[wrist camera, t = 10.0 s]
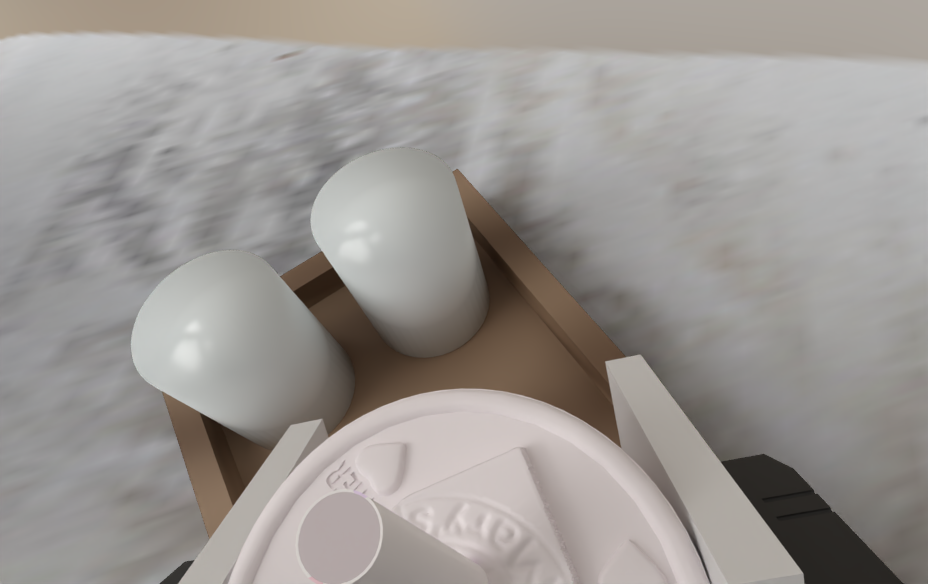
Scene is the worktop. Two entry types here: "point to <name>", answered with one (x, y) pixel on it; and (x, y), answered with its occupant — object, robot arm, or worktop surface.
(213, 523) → the tray
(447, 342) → the white domed cylinder
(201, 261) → the white rounded cylinder
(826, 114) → the worktop surface
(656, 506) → the smoothie
